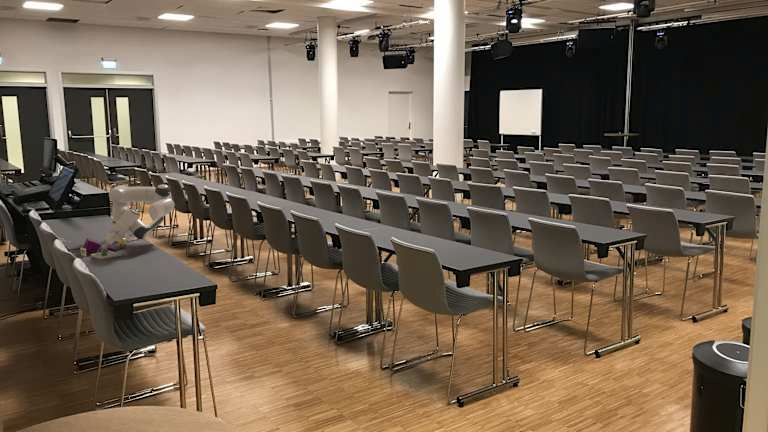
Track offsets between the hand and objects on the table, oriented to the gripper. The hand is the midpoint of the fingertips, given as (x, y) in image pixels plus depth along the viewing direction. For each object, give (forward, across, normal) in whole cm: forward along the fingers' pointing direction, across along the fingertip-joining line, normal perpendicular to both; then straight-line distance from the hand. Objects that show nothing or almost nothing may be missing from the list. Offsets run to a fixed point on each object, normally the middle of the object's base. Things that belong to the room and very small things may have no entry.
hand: (102, 246), depth 408 cm
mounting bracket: (+7, +15, -4) cm, 17 cm away
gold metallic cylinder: (-4, +21, -13) cm, 25 cm away
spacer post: (+4, 0, -5) cm, 6 cm away
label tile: (+13, +7, +4) cm, 16 cm away
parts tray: (+4, 0, -5) cm, 7 cm away
